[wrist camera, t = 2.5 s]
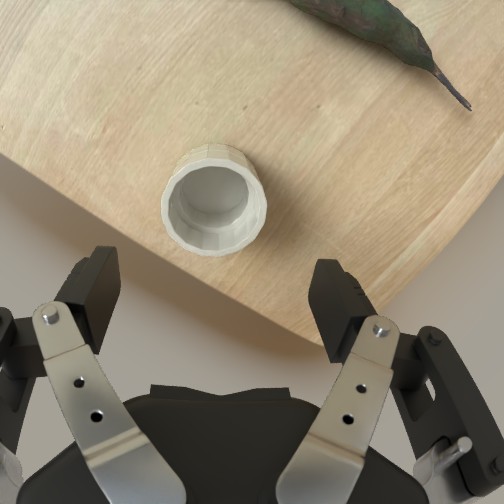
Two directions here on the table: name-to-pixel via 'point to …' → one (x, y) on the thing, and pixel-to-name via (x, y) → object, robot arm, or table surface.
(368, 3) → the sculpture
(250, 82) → the table surface
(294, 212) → the table surface
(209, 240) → the white cup
